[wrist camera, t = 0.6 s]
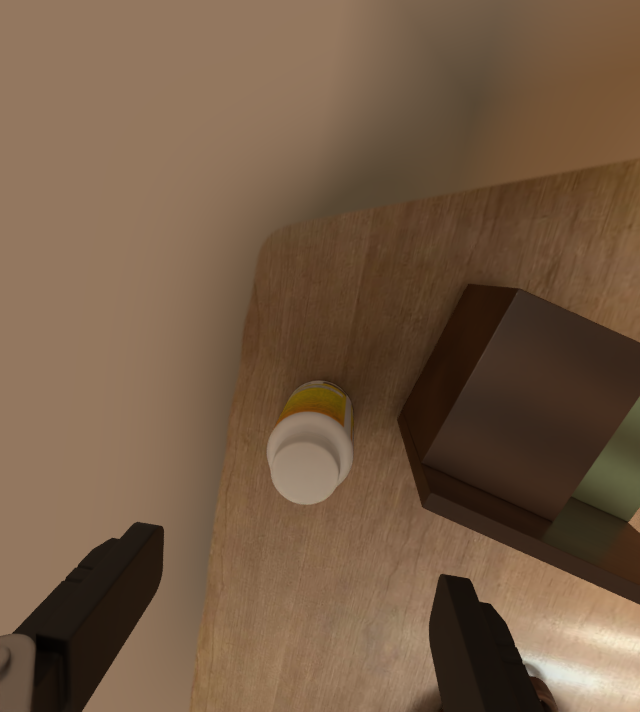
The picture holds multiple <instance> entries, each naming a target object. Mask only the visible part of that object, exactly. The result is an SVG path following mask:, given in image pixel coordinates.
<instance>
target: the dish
mask: <svg viewBox="0 0 640 712" xmlns="http://www.w3.org/2000/svg"><path fill="white" fill-rule="evenodd" d="M529 677H530V679H531V681H532V684H533V686H534V688H535V690H536V693H537V695H538V697H539V699H540V700H541V704H542V706H543V709H544V711H545V712H558V709H557V705H556V703H555V701H554V698H553V696H552V694H551V692H550V690H549V689H548V687H547V685H546V684H545V683H544V682H543V681H541V680H540V679H539V678H536V677H533V676H529ZM439 712H444V711H443V709H441V710H440V711H439Z"/></svg>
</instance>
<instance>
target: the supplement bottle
mask: <svg viewBox="0 0 640 712" xmlns="http://www.w3.org/2000/svg"><path fill="white" fill-rule="evenodd" d="M353 454H354V413H353V406H352V403H351V401H350V399H349V397H348V395H347V394H346V393H345V392H344V391H343V390H342V389H341V388H340V387H338V386H337V385H335V384H333V383H330V382H327V381H311V382H308V383H305V384H303V385H301V386H300V387H298V388H297V389H296V390H295V391H294V392H293V393H292V395H291V396H290V398H289V399H288V402H287V404H286V405H285V407H284V409H283V411H282V413H281V415H280V417H279V419H278V421H277V423H276V425H275V427H274V429H273V431H272V433H271V435H270V438H269V440H268V444H267V460H268V464H269V466H270V469H271V478H272V481H273V484H274V486H275V488H276V489H277V491H278V492H279V493H280V494H281V495H282V496H283V497H285V498H286V499H288V500H290V501H291V502H294V503H297V504H303V505H310V504H316V503H319V502H321V501H323V500H325V499H327V498H328V497H329V496H330V495H331V494H332V493H333V492H334V490H335V488H336V487H337V486H338V485H340V484H341V483H342V482H343V481H344V479H345V478H346V477H347V475H348V474H349V471H350V469H351V466H352V463H353Z"/></svg>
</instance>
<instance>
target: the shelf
mask: <svg viewBox="0 0 640 712" xmlns="http://www.w3.org/2000/svg"><path fill="white" fill-rule="evenodd" d="M397 421H398V424H399V428H400V431H401V435H402V438H403V442H404V445H405V449H406V452H407V456H408V459H409V462H410V466H411V469H412V473H413V476H414V480H415V483H416V487H417V490H418V494H419V497H420V501H421V504H422V507H423V508H425V509H427V510H429V511H431V512H434V513H436V514H438V515H440V516H443V517H445V518H447V519H449V520H451V521H454V522H456V523H458V524H460V525H463V526H465V527H467V528H469V529H472V530H474V531H476V532H478V533H481V534H483V535H485V536H487V537H490V538H492V539H494V540H496V541H498V542H501V543H503V544H505V545H507V546H510V547H512V548H514V549H516V550H519V551H521V552H523V553H525V554H528V555H530V556H532V557H534V558H537V559H539V560H541V561H543V562H546V563H548V564H550V565H552V566H554V567H557V568H559V569H561V570H563V571H566V572H568V573H570V574H572V575H575V576H577V577H579V578H581V579H584V580H586V581H588V582H590V583H593V584H595V585H597V586H599V587H601V588H604V589H606V590H608V591H610V592H613V593H615V594H617V595H619V596H622V597H624V598H626V599H628V600H631V601H633V602H635V603H637V604H640V533H639V532H638V531H637V530H636V529H634V528H633V527H632V526H631V525H630V524H629V523H628V522H629V521H630V519H631V518H632V517H633V515H634V514H635V513H636V511H637V510H638V509H639V507H640V343H639V342H637V341H635V340H633V339H631V338H628V337H626V336H624V335H622V334H619V333H617V332H615V331H613V330H611V329H608V328H606V327H604V326H602V325H599V324H597V323H595V322H593V321H591V320H588V319H586V318H584V317H582V316H579V315H577V314H575V313H573V312H571V311H568V310H566V309H564V308H562V307H559V306H557V305H555V304H553V303H551V302H548V301H546V300H544V299H542V298H539V297H537V296H535V295H533V294H531V293H528V292H526V291H524V290H522V289H519V288H508V287H496V286H485V285H474V284H468V286H467V287H466V289H465V291H464V293H463V295H462V297H461V299H460V301H459V303H458V305H457V306H456V308H455V310H454V312H453V314H452V316H451V318H450V320H449V322H448V324H447V325H446V327H445V329H444V331H443V333H442V335H441V337H440V339H439V341H438V343H437V345H436V346H435V348H434V350H433V352H432V354H431V356H430V358H429V360H428V362H427V364H426V365H425V367H424V369H423V371H422V373H421V375H420V377H419V379H418V381H417V383H416V384H415V386H414V388H413V390H412V392H411V394H410V396H409V398H408V400H407V402H406V404H405V405H404V407H403V410H402V411H401V413H400V415H399V417H398V419H397Z"/></svg>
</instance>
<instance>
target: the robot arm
mask: <svg viewBox="0 0 640 712" xmlns="http://www.w3.org/2000/svg"><path fill="white" fill-rule="evenodd" d="M163 545H164V529H163V527H162V526H159V525H153V524H147V523H140V522H136V523H134V524H133V525H132V526H131V527H130V528H129V529H128V530H127V531H126V533H125V534H124V535H123V536H122V537H121V538H120V539H116V538H111V539H109V540H107V541H106V542H104V543H103V544H101V545H100V546H98V547H96V548H94V549H93V550H92V551H91V552H90V553H89V554H88V555H87V556H86V557H85V558H84V559H83V560H82V561H81V562H80V563H79V565H78V567H77V568H75V569H74V570H73V571H72V572H71V573H70V574H69V575H68V576H67V577H66V579H65V581H62V582H61V583H60V584H59V585H58V586H57V587H56V588H55V589H54V590H53V591H52V593H51V594H50V595H49V596H48V597H47V598H46V599H45V600H44V601H43V602H42V603H41V604H40V605H39V606H38V607H37V608H36V609H35V610H34V611H33V612H32V614H31V615H30V616H29V617H28V618H27V619H26V620H25V621H24V622H23V623H22V624H21V625H20V626H19V627H18V628H17V629H16V630H15V631H14V632H13V633H12V634H8V635H3V636H0V712H82V710H83V709H84V707H85V705H86V704H87V702H88V701H89V699H90V698H91V696H92V694H93V693H94V691H95V690H96V688H97V686H98V685H99V683H100V682H101V680H102V678H103V677H104V675H105V674H106V672H107V670H108V669H109V667H110V666H111V664H112V662H113V661H114V659H115V658H116V656H117V654H118V653H119V651H120V650H121V648H122V646H123V645H124V643H125V642H126V640H127V638H128V637H129V635H130V634H131V632H132V630H133V629H134V627H135V626H136V624H137V622H138V621H139V619H140V618H141V616H142V615H143V613H144V611H145V610H146V608H147V607H148V605H149V603H150V602H151V600H152V598H153V597H154V595H155V593H156V591H157V589H158V587H159V584H160V580H161V577H162V571H163ZM429 641H430V648H431V652H432V657H433V662H434V667H435V672H436V677H437V682H438V686H439V691H440V696H441V701H442V706H443V711H444V712H545V711H544V709H543V706H542V704H541V702H540V699H539V697H538V695H537V693H536V690H535V688H534V686H533V684H532V681H531V679H530V677H529V674H528V672H527V670H526V668H525V665H523V663H522V658H521V656H520V654H519V652H518V649H517V647H515V642H514V640H513V638H512V636H511V633H510V631H509V629H508V626H507V624H506V622H505V621H504V620H503V619H502V617H501V616H500V615H499V614H498V613H497V611H496V610H495V609H494V608H493V606H492V605H491V604H489V603H483V602H479V600H478V597H477V595H476V592H475V589H474V587H473V584H472V582H471V580H470V579H468V578H463V577H457V576H451V575H445V574H441V575H440V577H439V580H438V584H437V588H436V593H435V597H434V602H433V606H432V611H431V615H430V621H429Z"/></svg>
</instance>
